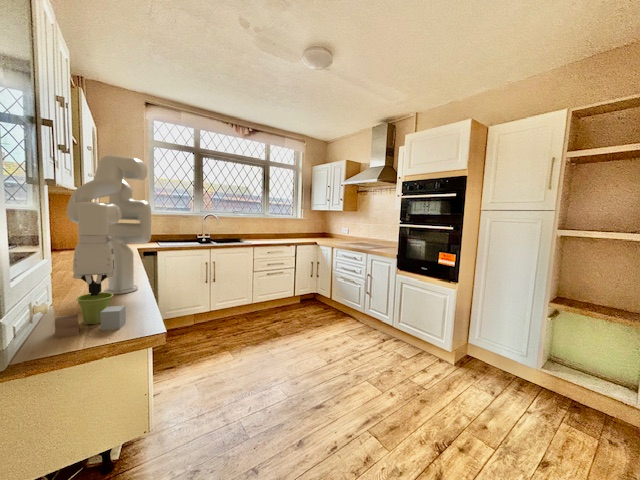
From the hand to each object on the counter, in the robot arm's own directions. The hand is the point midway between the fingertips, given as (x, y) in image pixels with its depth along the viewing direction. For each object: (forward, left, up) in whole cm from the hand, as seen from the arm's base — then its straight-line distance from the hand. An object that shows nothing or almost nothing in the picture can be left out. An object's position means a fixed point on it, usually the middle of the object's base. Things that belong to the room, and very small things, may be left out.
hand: (95, 294), depth 88 cm
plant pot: (0, 0, -9) cm, 9 cm away
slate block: (+7, +6, -9) cm, 13 cm away
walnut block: (+8, -5, -9) cm, 13 cm away
